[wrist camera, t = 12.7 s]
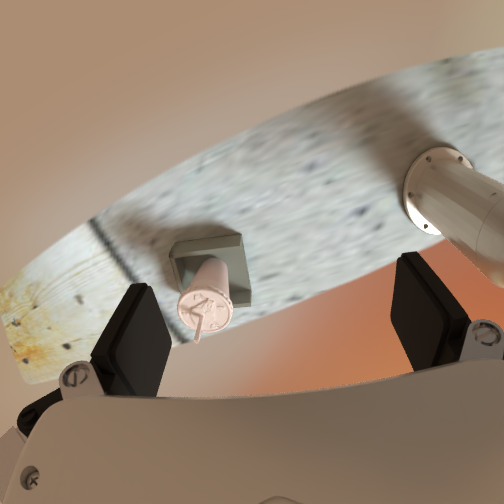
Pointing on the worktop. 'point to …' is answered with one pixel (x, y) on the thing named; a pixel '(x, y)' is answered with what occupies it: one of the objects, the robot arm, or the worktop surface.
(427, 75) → the worktop surface
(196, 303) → the smoothie
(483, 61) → the worktop surface
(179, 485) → the robot arm
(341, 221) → the worktop surface
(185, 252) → the bay
